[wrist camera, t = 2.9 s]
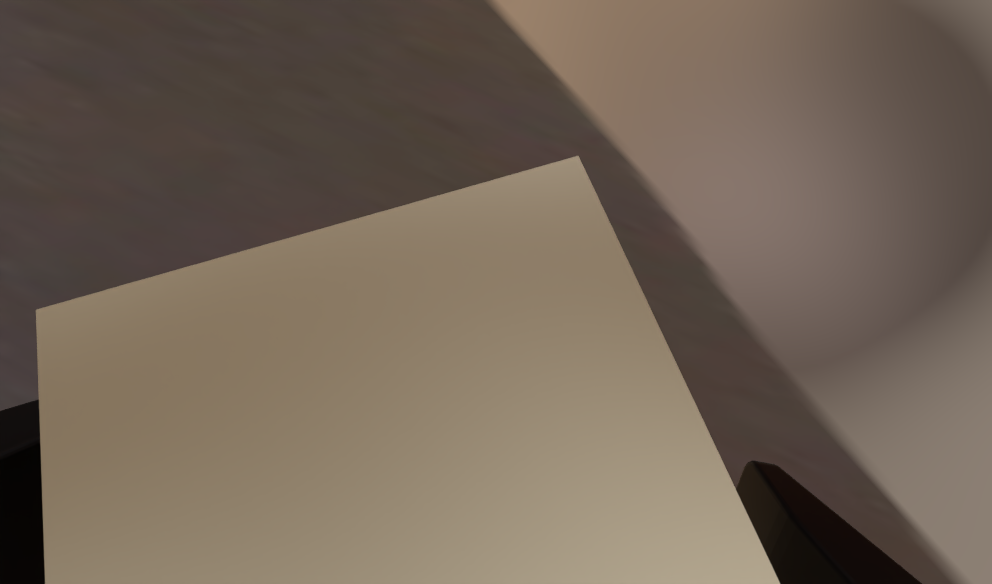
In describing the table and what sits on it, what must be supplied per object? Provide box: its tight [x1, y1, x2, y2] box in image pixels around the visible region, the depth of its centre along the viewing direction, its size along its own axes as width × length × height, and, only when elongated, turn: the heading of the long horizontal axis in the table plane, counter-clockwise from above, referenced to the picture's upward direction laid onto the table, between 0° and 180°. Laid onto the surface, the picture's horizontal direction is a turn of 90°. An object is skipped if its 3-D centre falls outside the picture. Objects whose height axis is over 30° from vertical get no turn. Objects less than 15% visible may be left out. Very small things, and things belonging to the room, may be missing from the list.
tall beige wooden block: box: [36, 156, 780, 584], centre depth 9 cm, size 4×4×12 cm
